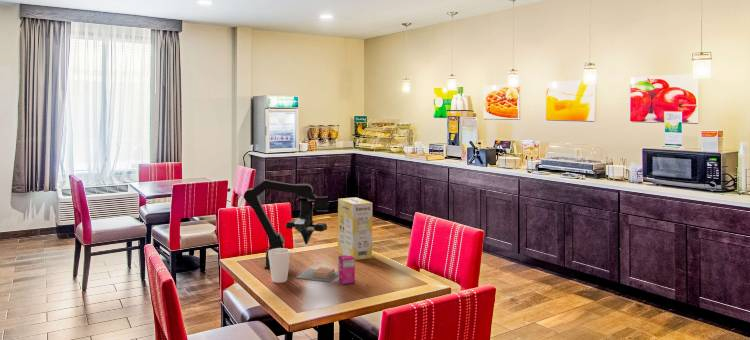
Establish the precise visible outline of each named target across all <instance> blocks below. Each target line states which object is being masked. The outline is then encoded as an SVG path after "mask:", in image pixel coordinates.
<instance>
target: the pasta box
mask: <svg viewBox="0 0 750 340" xmlns="http://www.w3.org/2000/svg"><path fill="white" fill-rule="evenodd" d="M337 200H338V201H337V202H338V203H337V205H338V206H337V252H338V253H340V255H341V254H342V255H349V254H350V255H352V256H353V257H354V258H355V261H357V260H364V259H372V258H373V202H371V201H369V200H366V199H362V198H359V197H356V196H355V197H345V198H342V197H341V198H338V199H337Z"/></svg>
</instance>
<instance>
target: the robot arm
mask: <svg viewBox="0 0 750 340" xmlns="http://www.w3.org/2000/svg"><path fill="white" fill-rule="evenodd" d="M266 190H272V191H278V192H286V193H291V194H294V195H297V196H298V197H297V198H296V200H295V202H296V203H299V208H300V209H299V214H298V218H296V220H290V221H287V222H286V224H285V229H289V230H292V229H293V228H294V229H295V230H296V231H297V232H299V233H300V234H301V236H302V238H303V242H304V245H308V244H309V242H310V240H311V236H312V235H313V232H324V231H326V230H328V225H327V223H326V222H325V223H323V222H318V223H315V224H314V221H315V220H314V219H313V216H314V214H315V213H314V212H313V210H316V212H329V196H327V195H325V196H317V195H316V194H315V192H314V190H313V186H312V184H310V183H288V182H283V181H276V180H270V179H264V180H263V181H261V182H260V183H259V184H257V185H256V186H255V187H251V188H248V189H247V190H246V191H245V192H244V194H243V199H244V201H245V202H246V203H247V204H248V205H249V207H250V208H251V209H253V211H254V213H255V215H256V216H257V219H258V221H259V223H260V224H261V226H262V228H263V231H264V232H265V233H266V236H267V239H268V243H269V247H268V248H267V250H266V252H265V266H264V267H263V268H264V269H266V270H267V269H269V270H270V263H269V257H268V251H269V250H271V249H276V248H285V238H284V237H283V235H282V233H281V232H279V233H278V232H277V231H276V229H275V228H274V226H273V223H272V221H271V220H270V219H269V216H268V215H267V212H266V211H265V208H264V207H263V205H262V201H261V197H260V195H261V194H262V193H264V191H265V192H266Z"/></svg>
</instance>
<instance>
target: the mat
mask: <svg viewBox="0 0 750 340" xmlns="http://www.w3.org/2000/svg"><path fill="white" fill-rule="evenodd" d="M317 269H318V268H317ZM317 269H316V268H315V269H314V268H309V269H307V270H305V271H303V272H301V273H300V274H299V275H297V276H296V277H295V279H299V280H308V281H315V282H316V281H317V282H325V283H331V282H332V281H333V280H335V279H336V278H338V271H335V270H334V274H333V275H332V276H330V277H329V278H328V279H325V278H317V277H314V271H316V270H317Z"/></svg>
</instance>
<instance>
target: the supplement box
mask: <svg viewBox="0 0 750 340" xmlns="http://www.w3.org/2000/svg"><path fill="white" fill-rule="evenodd" d="M337 259H338V260H337V261H338V262H337V265H338V267H337V269H338V271H337V272H338V276H337V278H338V279H337V280H338V282H339V283H340V284H341V285H342V286H347V285H354V284H356V279H355V278H356V271H355V270H356V265H355V264H356V260H355V258H354V257H353V256H352V255H350V254H349V255H343V254H342V255H341V254H340V255H338V256H337Z"/></svg>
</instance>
